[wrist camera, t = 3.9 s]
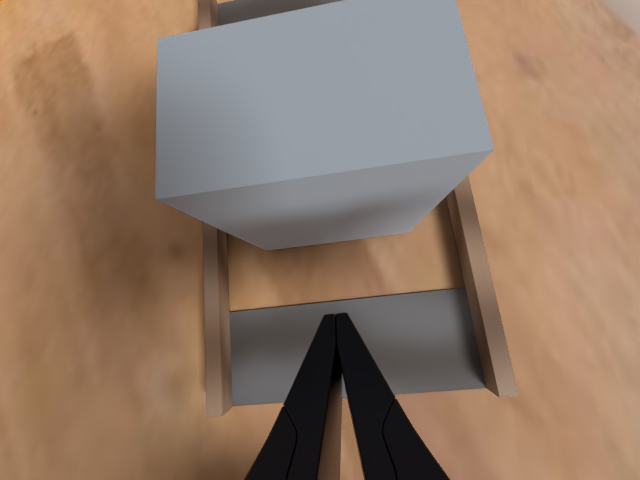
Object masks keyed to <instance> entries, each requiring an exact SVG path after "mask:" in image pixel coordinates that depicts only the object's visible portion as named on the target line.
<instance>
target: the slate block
mask: <svg viewBox="0 0 640 480" xmlns="http://www.w3.org/2000/svg"><path fill="white" fill-rule="evenodd" d="M493 150H494V147H493V143H492V139H491V135H490V131H489V127H488V123H487V119H486V115H485V111H484V107H483V104H482V100H481V96H480V92H479V88H478V84H477V80H476V76H475V72H474V68H473V64H472V61H471V57H470V53H469V49H468V45H467V41H466V37H465V33H464V29H463V25H462V21H461V18H460V14H459V10H458V6H457V2H456V0H342V1H338V2H333V3H328V4H323V5H318V6H313V7H308V8H304V9H299V10H294V11H289V12H284V13H279V14H275V15H270V16H265V17H260V18H255V19H250V20H245V21H241V22H236V23H231V24H226V25H221V26H216V27H211V28H207V29H202V30H197V31H192V32H187V33H182V34H177V35H173V36H168V37H163V38H158V44H157V103H156V162H155V200H157V201H159V202H161V203H163V204H166V205H168V206H170V207H172V208H174V209H176V210H179V211H181V212H183V213H185V214H187V215H189V216H192V217H194V218H196V219H198V220H200V221H202V222H205V223H207V224H209V225H211V226H213V227H215V228H218V229H220V230H222V231H224V232H226V233H228V234H231V235H233V236H235V237H237V238H239V239H241V240H244V241H246V242H248V243H250V244H252V245H254V246H257V247H259V248H261V249H263V250H265V251H268V250H276V249H284V248H292V247H300V246H308V245H316V244H324V243H332V242H340V241H348V240H356V239H364V238H372V237H380V236H388V235H396V234H404V233H409V232H410V231H411V230H412V229H413V228H414V227H415V226H416V225H417V224H418V223H419V222H420V221H421V220H422V219H423V218H425V217H426V216H427V215H428V214H429V213H430V212H431V211H432V210H433V209H434V208H435V207H436V206H437V205H438V204H439V203H440V202H441V201H442V200H443V199H444V198H445V197H446V196H447V195H448V194H449V193H450V192H451V191H452V190H453V189H454V188H455V187H456V186H457V185H458V184H459V183H460V182H461V181H462V180H463V179H464V178H465V177H466V176H467V175H469V174H470V173H471V172H472V171H473V170H474V169H475V168H476V167H477V166H478V165H479V164H480V163H481V162H482V161H483V160H484V159H485V158H486V157H487V156H488V155H489V154H490V153H491V152H492V151H493Z"/></svg>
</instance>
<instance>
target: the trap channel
mask: <svg viewBox="0 0 640 480" xmlns="http://www.w3.org/2000/svg"><path fill="white" fill-rule="evenodd" d="M338 1H342V0H234V1H230V2H225V3H220V4H217V1H216V0H198V7H199V30H202V29H207V28H211V27H216V26H221V25H226V24H231V23H236V22H241V21H245V20H250V19H255V18H260V17H265V16H270V15H275V14H279V13H284V12H289V11H294V10H299V9H304V8H308V7H313V6H318V5H323V4H328V3H333V2H338ZM446 198H447V203H448V208H449V213H450V217H451V222H452V227H453V232H454V236H455V241H456V246H457V251H458V256H459V260H460V265H461V270H462V275H463V280H464V284H465V288H458V289H449V290H439V291H429V292H420V293H410V294H401V295H391V296H381V297H372V298H362V299H353V300H343V301H333V302H324V303H314V304H305V305H295V306H286V307H276V308H266V309H257V310H247V311H238V312H230V311H229V285H228V258H227V233H226V232H224V231H222V230H220V229H218V228H215V227H213V226H211V225H209V224H207V223H205V222H203V258H204V308H205V358H206V408H207V417H220V416H223V415H224V414H225V413H226V412H227V411H228V410H229V409H230V408H231V407H232V406H240V405H254V404H268V403H282V402H285V400H286V398H287V395H288V393H289V391H290V389H291V386H292V384H293V382H294V380H295V378H296V375H297V373H298V371H299V369H300V366H301V364H302V362H303V360H304V358H305V355H306V353H307V351H308V349H309V347H310V344H311V342H312V340H313V338H314V335H315V333H316V331H317V329H318V327H319V324H320V322H321V320H322V318H323V316H324V315H325V314H332V313H334V314H335V315H336V314H337V313H342V312H347V313H348V315H349V316H350V318H351V320H352V322H353V323H354V325H355V327H356V329H357V330H358V332H359V334H360V336H361V337H362V339H363V341H364V343H365V344H366V346H367V348H368V350H369V352H370V353H371V355H372V357H373V359H374V360H375V362H376V364H377V366H378V367H379V369H380V371H381V373H382V374H383V376H384V378H385V380H386V381H387V383H388V385H389V387H390V388H391V390H392V392H393V394H394V395H395V394H409V393H423V392H437V391H451V390H465V389H479V388H487V389H489V390H490V391H491V392H493V393H494V394H495V395H497V396H498V397H515V396H519V395H518V390H517V386H516V382H515V377H514V373H513V369H512V364H511V360H510V356H509V351H508V347H507V343H506V338H505V334H504V330H503V325H502V321H501V316H500V312H499V308H498V303H497V299H496V295H495V290H494V286H493V282H492V277H491V273H490V269H489V264H488V260H487V256H486V251H485V247H484V243H483V238H482V234H481V229H480V225H479V221H478V216H477V212H476V208H475V203H474V199H473V195H472V190H471V186H470V182H469V177H468V175H467V176H466V177H465V178H464V179H463V180H462V181H461V182H460V183H459V184H458V185H457V186H456V187H455V188H454V189H453V190H452V191H451V192H450V193H449V194H448V195H447V196H446ZM342 398H347V394H346V389H345V385H344V379H343V374H342Z"/></svg>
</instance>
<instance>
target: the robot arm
mask: <svg viewBox="0 0 640 480" xmlns="http://www.w3.org/2000/svg"><path fill="white" fill-rule="evenodd" d="M342 374H343V379H344V385H345V389H346V394H347V399H348V404H349V409H350V414H351V418H352V423H353V428H354V433H355V438H356V443H357V448H358V452H359V457H360V462H361V467H362V472H363V477H364V480H450V479H449V477H448V476H447V475H446V473H445V472H444V470H443V469H442V468H441V466H440V465H439V463H438V462H437V461H436V459H435V458H434V457H433V455H432V454H431V452H430V451H429V450H428V448H427V447H426V445H425V444H424V442H423V441H422V439H421V438H420V436H419V435H418V433H417V432H416V431H415V429H414V427H413V426H412V424H411V423H410V421H409V419H408V418H407V416H406V414H405V413H404V411H403V409H402V408H401V406H400V404H399V402H398V400H397V399H395V395H394V394H393V392H392V390H391V388H390V387H389V385H388V383H387V381H386V380H385V378H384V376H383V374H382V373H381V371H380V369H379V367H378V366H377V364H376V362H375V360H374V359H373V357H372V355H371V353H370V352H369V350H368V348H367V346H366V344H365V343H364V341H363V339H362V337H361V336H360V334H359V332H358V330H357V329H356V327H355V325H354V323H353V322H352V320H351V318H350V316H349V315H348V313H347V312H342V313H337V314H336V315H335V314H334V313H332V314H325V315H324V316H323V318H322V320H321V322H320V324H319V327H318V329H317V331H316V333H315V335H314V338H313V340H312V342H311V344H310V347H309V349H308V351H307V353H306V355H305V358H304V360H303V362H302V364H301V366H300V369H299V371H298V373H297V375H296V378H295V380H294V382H293V384H292V386H291V389H290V391H289V393H288V395H287V398H286V400H285V402H284V404H283V405H284V407H282V408H281V411H280V413H279V415H278V417H277V419H276V421H275V424H274V426H273V428H272V430H271V432H270V434H269V436H268V438H267V440H266V442H265V443H264V445H263V447H262V449H261V451H260V453H259V454H258V456H257V458H256V460H255V461H254V463H253V465H252V467H251V468H250V470H249V472H248V474H247V475H246V477H245V479H244V480H340V453H341V417H342Z"/></svg>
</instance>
